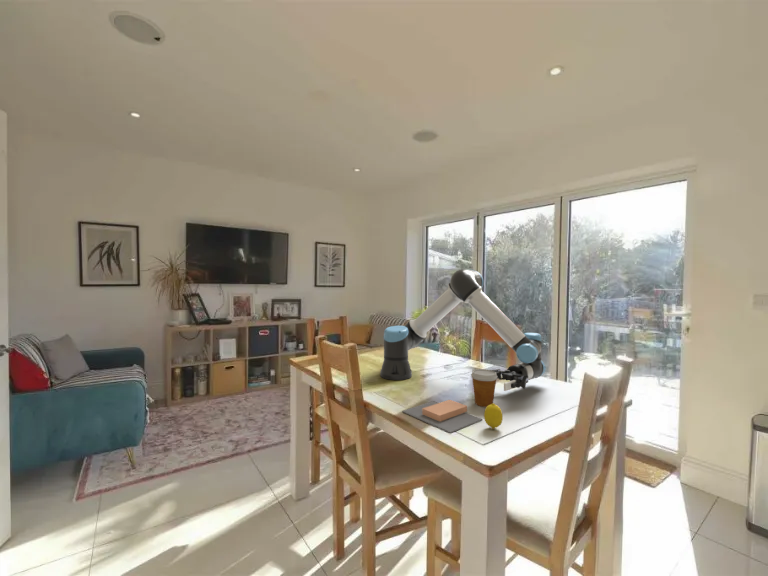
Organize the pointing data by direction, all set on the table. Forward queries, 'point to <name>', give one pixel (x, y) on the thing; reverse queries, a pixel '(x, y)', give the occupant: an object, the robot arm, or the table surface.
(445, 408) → the tile
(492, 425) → the lemon
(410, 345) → the robot arm
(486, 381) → the disposable coffee cup
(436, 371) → the table surface
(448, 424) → the mat
